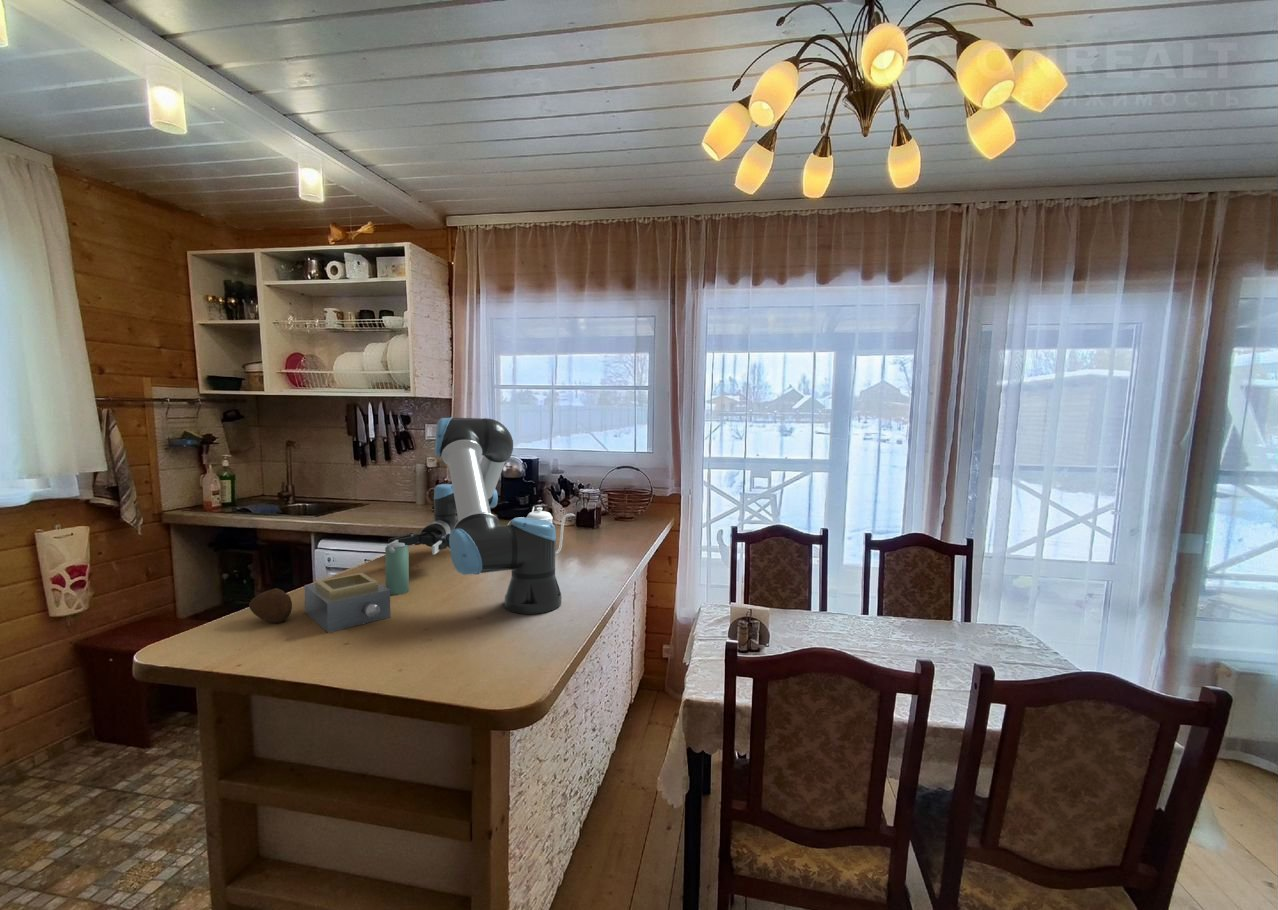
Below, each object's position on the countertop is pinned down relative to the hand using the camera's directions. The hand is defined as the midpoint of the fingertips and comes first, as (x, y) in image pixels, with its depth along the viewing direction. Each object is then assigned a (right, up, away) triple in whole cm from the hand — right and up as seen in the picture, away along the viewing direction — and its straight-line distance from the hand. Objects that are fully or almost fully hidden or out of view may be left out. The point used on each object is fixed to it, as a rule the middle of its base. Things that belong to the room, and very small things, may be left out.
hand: (410, 549), depth 158 cm
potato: (-20, -12, -32) cm, 39 cm away
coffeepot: (+34, -9, +27) cm, 45 cm away
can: (0, -10, -9) cm, 14 cm away
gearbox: (-3, -12, -28) cm, 31 cm away
